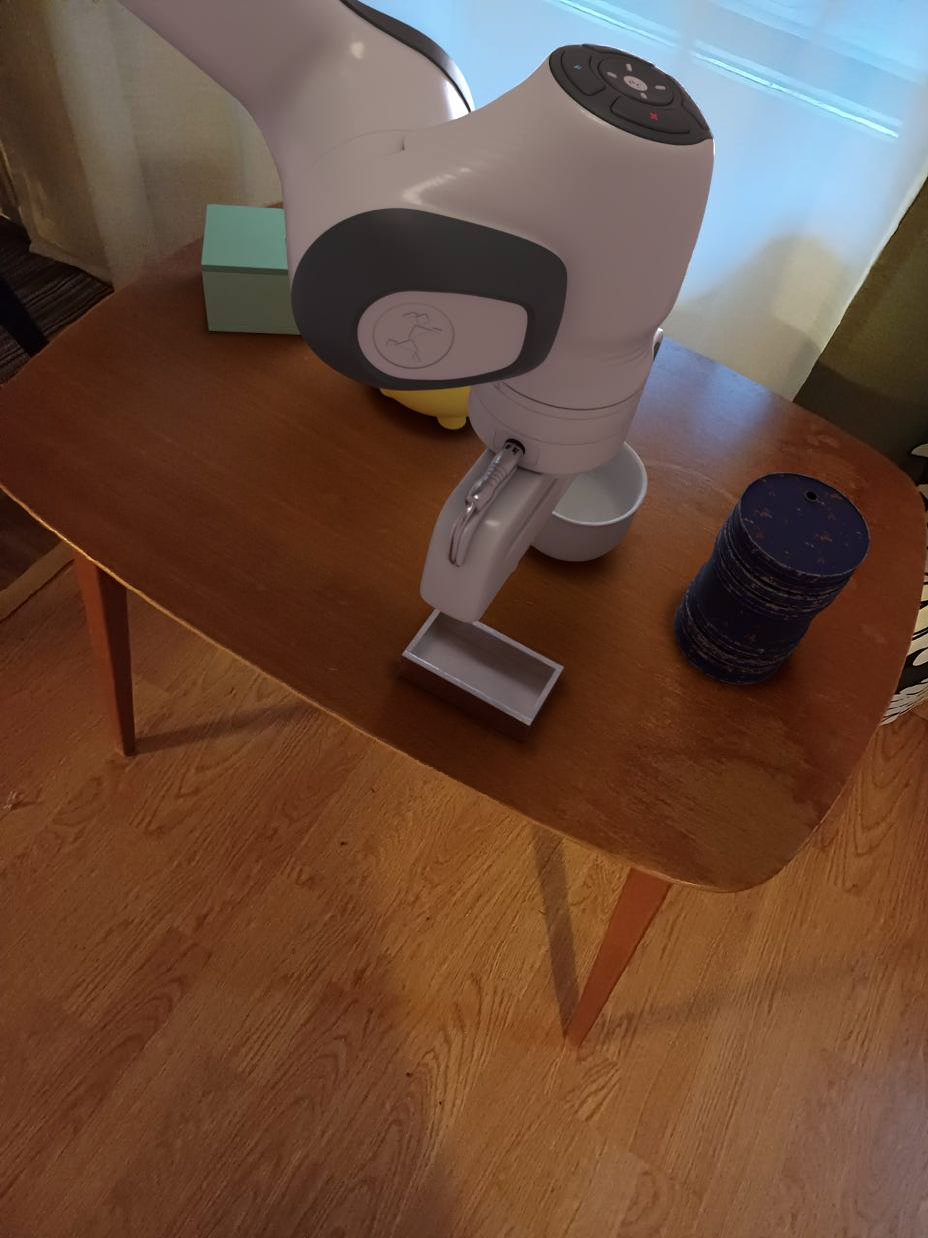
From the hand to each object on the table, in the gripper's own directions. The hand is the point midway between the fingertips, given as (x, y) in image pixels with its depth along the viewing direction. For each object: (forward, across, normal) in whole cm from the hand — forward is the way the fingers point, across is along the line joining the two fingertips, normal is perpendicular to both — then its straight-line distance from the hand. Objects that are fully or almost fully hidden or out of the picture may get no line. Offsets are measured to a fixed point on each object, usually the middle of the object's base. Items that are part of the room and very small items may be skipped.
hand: (511, 553), depth 60 cm
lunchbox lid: (+9, +27, +39) cm, 48 cm away
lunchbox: (+15, +27, +39) cm, 50 cm away
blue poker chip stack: (+16, +15, -16) cm, 27 cm away
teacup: (+16, +17, +2) cm, 24 cm away
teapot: (+16, +27, +21) cm, 38 cm away
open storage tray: (+16, 0, 0) cm, 16 cm away
